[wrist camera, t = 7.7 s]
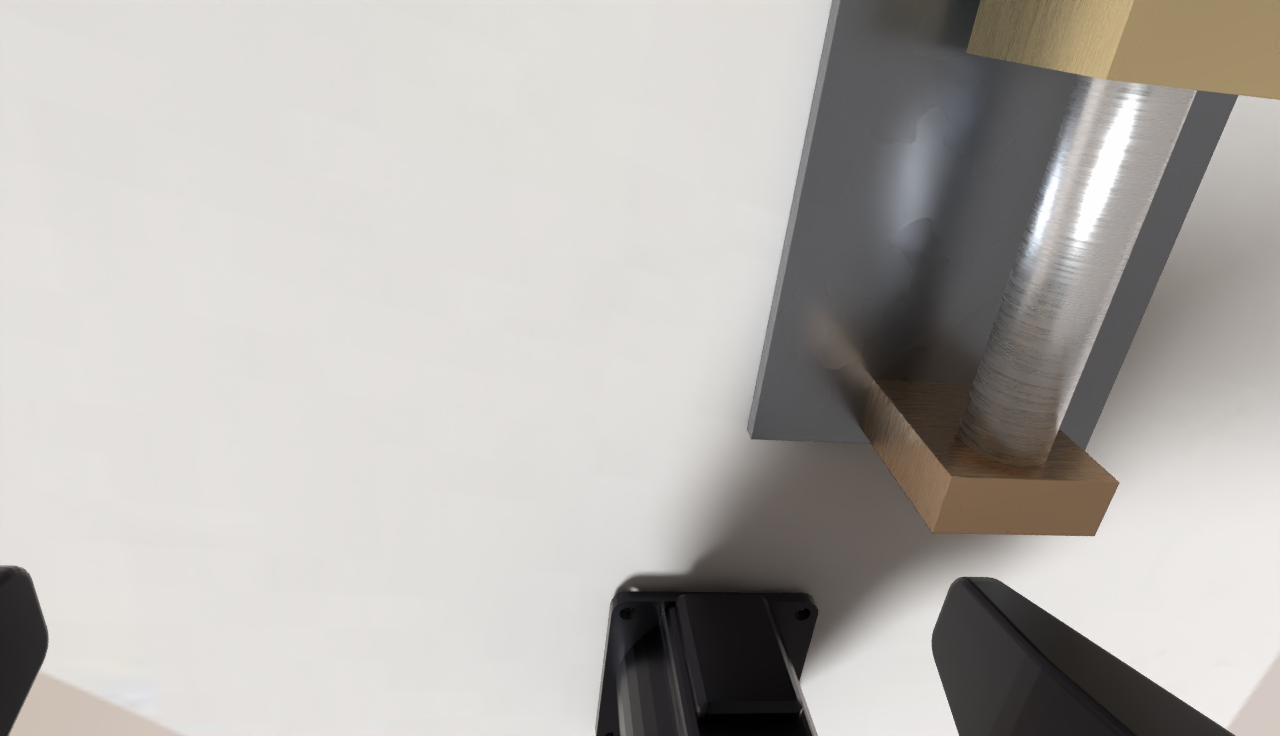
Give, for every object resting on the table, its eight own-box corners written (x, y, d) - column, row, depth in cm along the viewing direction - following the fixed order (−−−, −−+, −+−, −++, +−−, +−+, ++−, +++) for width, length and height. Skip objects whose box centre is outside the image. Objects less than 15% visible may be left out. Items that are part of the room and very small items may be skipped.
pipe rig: (1073, 442, 23) (1200, 555, 18) (746, 429, 21) (798, 548, 17) (1537, -655, 13) (2042, -976, 9) (994, -813, 12) (1267, -1293, 7)
